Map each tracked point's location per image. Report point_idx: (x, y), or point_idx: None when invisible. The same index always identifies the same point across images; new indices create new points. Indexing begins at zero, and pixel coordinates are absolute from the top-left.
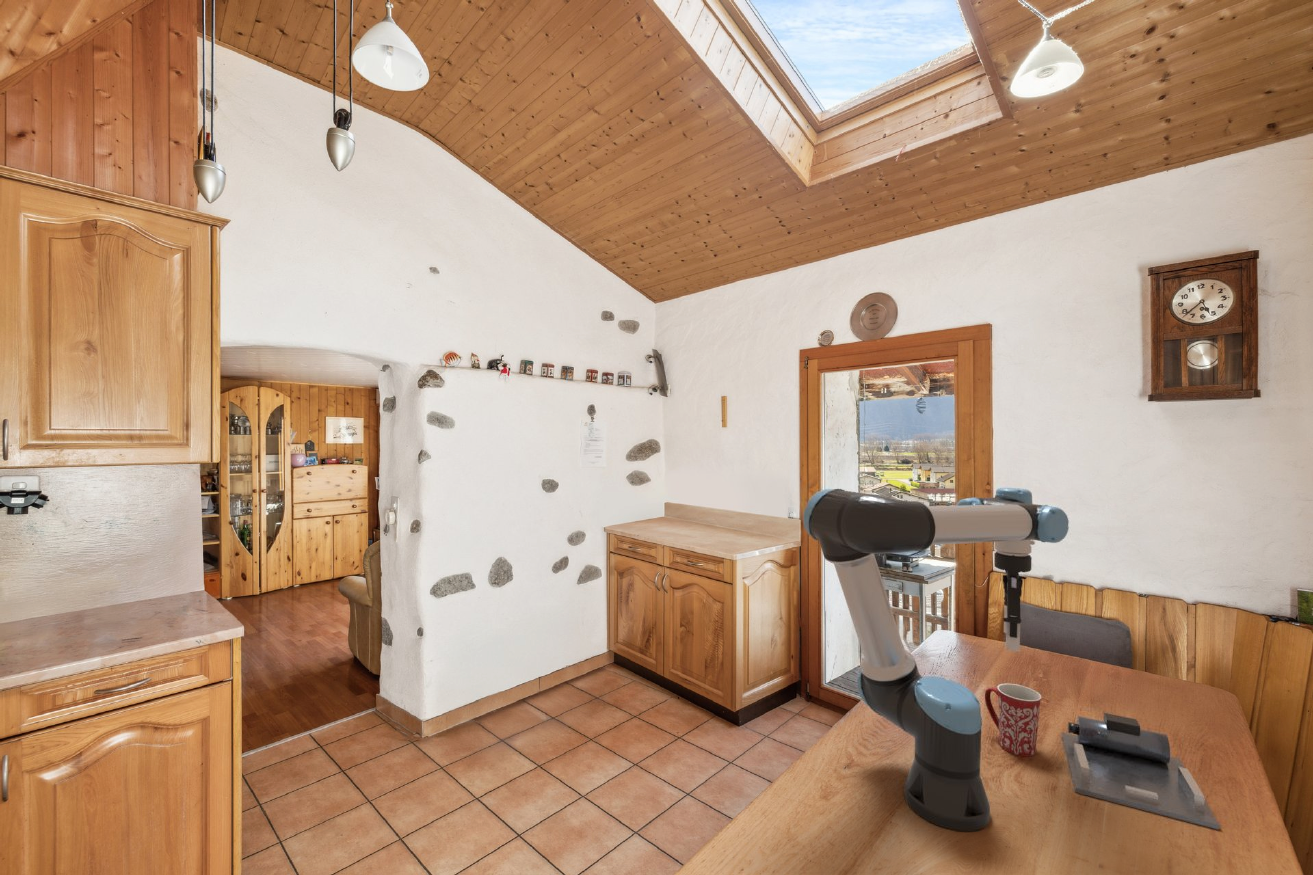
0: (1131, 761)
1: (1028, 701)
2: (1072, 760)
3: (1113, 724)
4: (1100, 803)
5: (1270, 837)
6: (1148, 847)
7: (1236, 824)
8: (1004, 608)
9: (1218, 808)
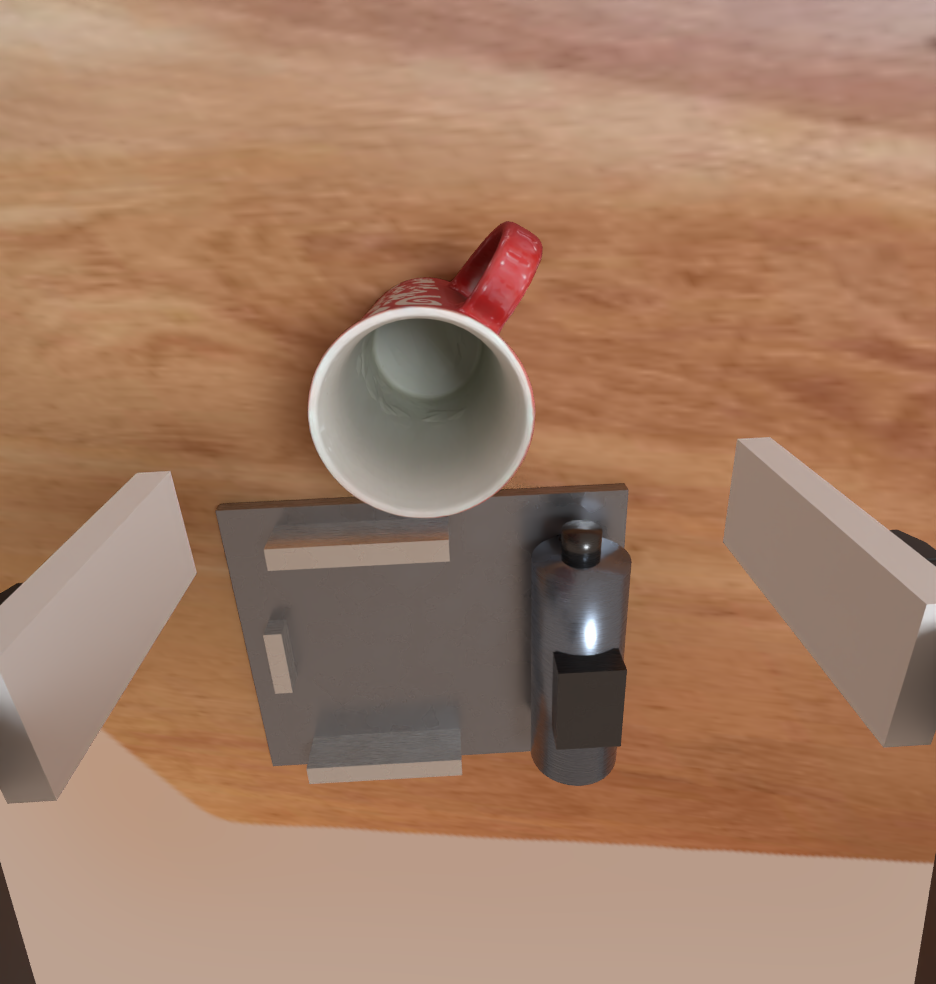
0: (513, 650)
1: (322, 461)
2: None
3: (556, 681)
4: (205, 557)
5: (318, 820)
6: None
7: (332, 783)
8: (905, 586)
9: None
